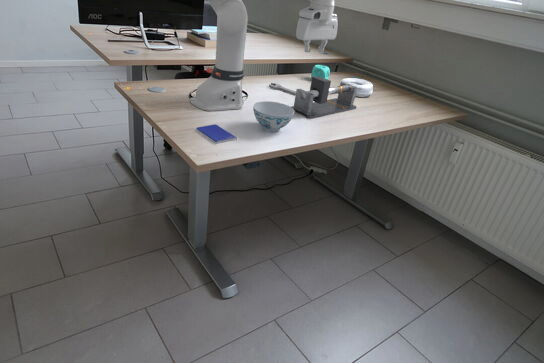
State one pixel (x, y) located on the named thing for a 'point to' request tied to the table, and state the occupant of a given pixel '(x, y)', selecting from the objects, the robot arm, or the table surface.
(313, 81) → the dark grey upright block
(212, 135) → the hard drive
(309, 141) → the table surface
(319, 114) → the pipe stand
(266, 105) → the chinaware
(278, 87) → the adjustable wrench
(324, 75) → the decorative dice
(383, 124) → the table surface
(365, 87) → the cable
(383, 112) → the table surface
